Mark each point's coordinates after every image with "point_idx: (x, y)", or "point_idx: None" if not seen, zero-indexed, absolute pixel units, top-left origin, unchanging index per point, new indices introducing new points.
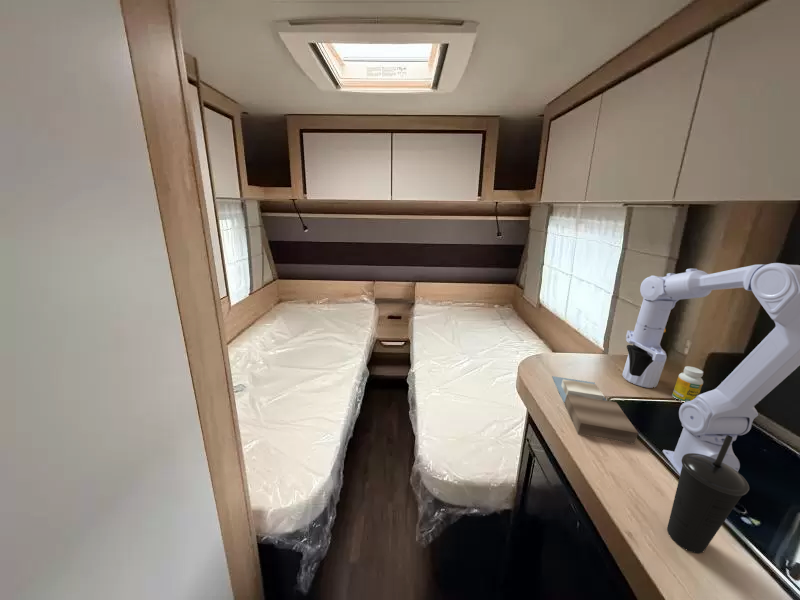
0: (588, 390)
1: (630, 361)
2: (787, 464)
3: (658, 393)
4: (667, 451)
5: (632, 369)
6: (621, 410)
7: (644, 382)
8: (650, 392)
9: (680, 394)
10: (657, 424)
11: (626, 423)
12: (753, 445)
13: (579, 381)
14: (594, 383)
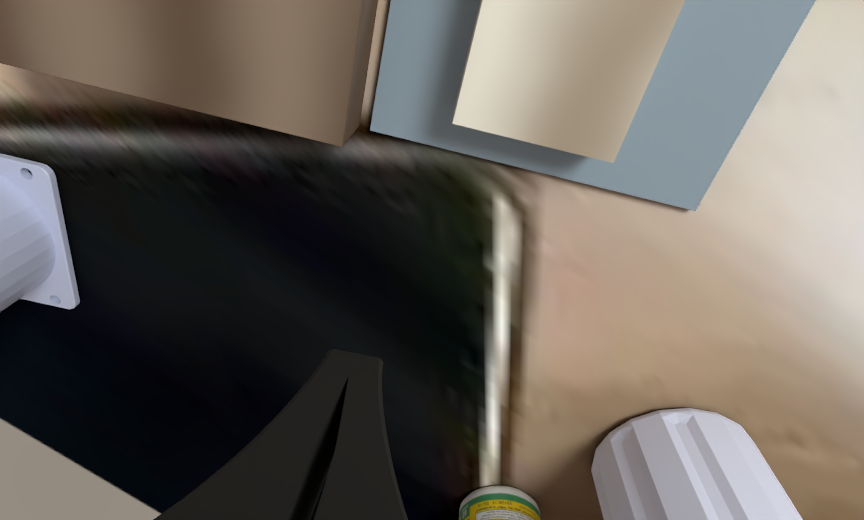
0: (529, 33)
1: (356, 451)
2: None
3: (548, 459)
4: (40, 183)
5: (305, 385)
6: (240, 116)
7: (611, 459)
8: (559, 436)
9: (486, 517)
10: (289, 294)
11: (77, 45)
12: None
13: (735, 100)
14: (684, 203)
